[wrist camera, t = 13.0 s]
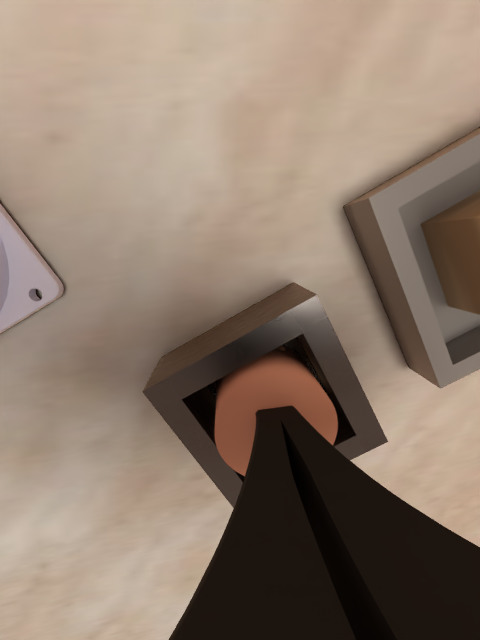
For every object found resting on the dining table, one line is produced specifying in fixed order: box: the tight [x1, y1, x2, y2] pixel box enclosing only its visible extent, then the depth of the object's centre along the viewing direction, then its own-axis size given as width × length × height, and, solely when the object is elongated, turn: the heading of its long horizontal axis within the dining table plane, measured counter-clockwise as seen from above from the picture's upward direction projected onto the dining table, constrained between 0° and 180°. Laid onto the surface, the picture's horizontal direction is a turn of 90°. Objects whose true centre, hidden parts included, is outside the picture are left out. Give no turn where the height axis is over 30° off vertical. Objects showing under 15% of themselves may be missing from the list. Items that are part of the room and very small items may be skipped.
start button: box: [214, 346, 338, 476], centre depth 11 cm, size 4×4×3 cm
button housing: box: [142, 283, 388, 508], centre depth 11 cm, size 7×7×3 cm
